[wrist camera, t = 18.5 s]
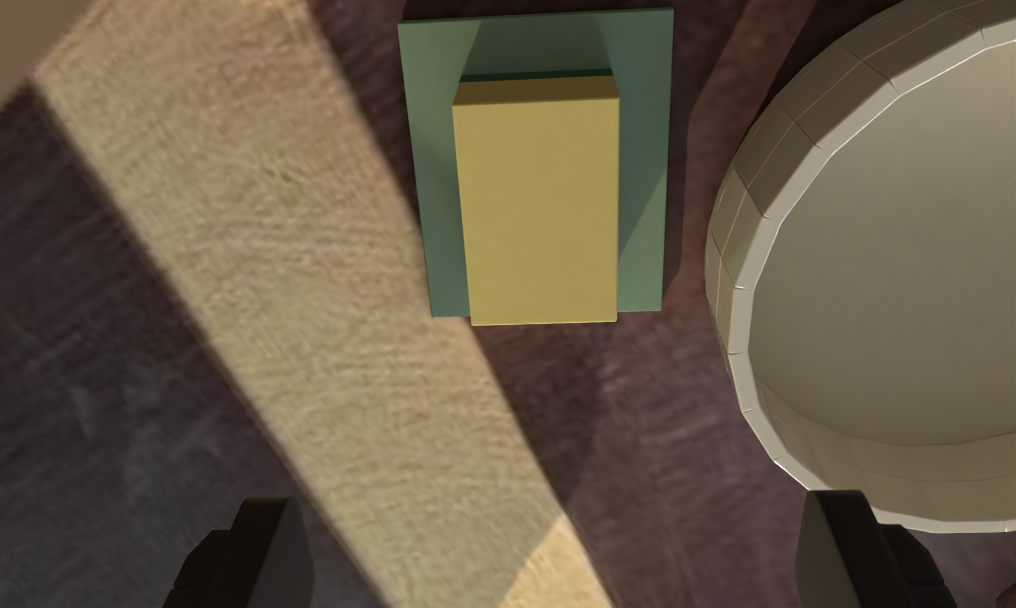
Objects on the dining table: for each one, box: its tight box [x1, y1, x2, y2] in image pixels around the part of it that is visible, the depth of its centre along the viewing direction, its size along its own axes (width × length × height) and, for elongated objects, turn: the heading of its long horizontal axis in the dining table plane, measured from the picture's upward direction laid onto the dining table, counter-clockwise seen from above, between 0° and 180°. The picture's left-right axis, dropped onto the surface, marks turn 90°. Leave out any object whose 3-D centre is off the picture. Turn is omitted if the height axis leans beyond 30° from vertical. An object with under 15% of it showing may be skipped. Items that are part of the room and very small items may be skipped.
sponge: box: [452, 68, 620, 326], centre depth 25 cm, size 7×4×3 cm, turn 3°
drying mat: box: [397, 7, 674, 317], centre depth 27 cm, size 10×8×1 cm
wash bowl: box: [705, 0, 1016, 533], centre depth 25 cm, size 17×17×4 cm
